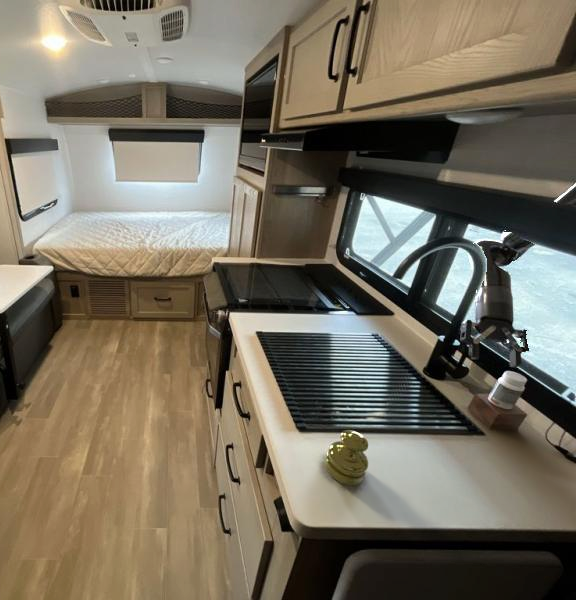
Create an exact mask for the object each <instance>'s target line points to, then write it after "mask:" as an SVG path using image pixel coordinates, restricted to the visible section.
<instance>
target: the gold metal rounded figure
mask: <svg viewBox="0 0 576 600" xmlns="http://www.w3.org/2000/svg"><path fill="white" fill-rule="evenodd" d="M368 449H369V441H368V440H367V438H366V437H365V436H364V435H362V434H361V433H360V432H358V431H355V430H350V429H346V430H343V431H342V432H341V434H340V441H334V442H333V443H331V444H330V445H329V447H328V451H327V453H326V457H325V459H324V466H325V469H326V471H327V472H328V474H329V475H330V476H331V478H332V479H334V480H335V481H337V482H339V483H341V484H344V485H346V486H356V485H359V484H361V482H362V481H363V478H364V477H365V475H366V471H367V470H368V468H369V460H368V457H367V455H366V454H365V453H364V452H366V451H367V450H368Z"/></svg>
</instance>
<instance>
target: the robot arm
mask: <svg viewBox="0 0 576 600" xmlns="http://www.w3.org/2000/svg"><path fill="white" fill-rule="evenodd" d="M552 201H554V202H556V203H562V204H571V205H576V182H575V183H573V184H572V185H571V186H569V187H568V188H567V189H566V190H565V191H564V192H563V193H560V195H559V196H557V197H556V198H554V199H553V200H552ZM500 239H501V241H499V240H493V239H490V238H489V239H488V238H483V239H479V240H476V241H475V242H474V243H476V244H478V245H479V246H480V247H481V248H482V250H483V251H484V254H485V256H486V258H487V272H486V275H485V278H484V281H483V283H482V286H481V288H480V290H479V292H478V294H477V296H476V295H475V301H474V304H475V313H474V314H475V318H474V319H475V321H473V320H471V319H467V320H465V321H462V322H461V325H460V326H461V328H460V339H459V341H460V342H461V343H464V344H466V345H468V356H469V358H470V359H471V360H474V361H477V360H479V359H480V345H479V344H480V343H481V342H482V341H483V340H484V341H487V342H494V343H498V344H499V343H500V344H501V345H502V346H503V347H505V348H506V349H507V350H508V351H509V353H508V354H509V355H508V356H509V367H510V368H518V367H519V366H521V365H522V354H523V353H522V352H524V353H527V352H526V351H528V352H530V351H529V348H528V344H527V339H526V335H527V334H526V331H527V330H528V329H527V330H525V329H526V328H524V329H516V328H515V327H514V325H513V324H514V321H515V320H514V296H513V293H512V277H511V273H510V272H509V271H508V270H505V269H504V268H505V267H504V266H506V267H508V266H507V265H509V264H510V263H511V262H512V261H515V260H517V259H518V258H519V257H520V258H521V257H523V255H524V254H526V252H528V250H530V249H531V248H533V247H534V246H536V245H535V244H533V243H531V242H529V241H526V240H523V239H521V238H520V237H519V236H518V235H517V236H516V235H515V234H514V233H512V232H504V231H503V232H502V234H501V236H500ZM520 258H519V259H520ZM468 259H469V262H470V265H471V269H473V261H472V258H471V256H470V255H469V254H468ZM519 259H518V260H519ZM518 260H517V261H518ZM509 266H510V265H509ZM473 329H475V331H476V332H477V334H476V335H474V336H473V337H472V330H473ZM513 335H514V336H513ZM517 338H521V340H520V341H521V342H523V346H524V347H520V346H519V345H518V343H517ZM521 342H520V343H521Z"/></svg>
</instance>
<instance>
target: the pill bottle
mask: <svg viewBox="0 0 576 600" xmlns="http://www.w3.org/2000/svg"><path fill="white" fill-rule="evenodd" d="M527 382H528V379H527V378H526V377H525V376H524V375H522V374H521V373H518V372H515V371H511V370H506V371H504V372H503V374H502V375H501V377H498V379H497V380H496V383H495V384H494V387H493V388H492V389H491V391H490V393H489V394H490V395H489V396H488V399H489V401H490V402H491V403H493V404H494V405H496V406H498V407H501V408H504V409H512V408H513V407H514V405H517V403H518V401H519V399H520V397H521V396H522V394H523V392H524V391H525V389H526V387H525V385H526V383H527Z"/></svg>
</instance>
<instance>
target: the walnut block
mask: <svg viewBox="0 0 576 600" xmlns="http://www.w3.org/2000/svg"><path fill="white" fill-rule="evenodd" d="M489 395H490V393H475V394H474V395H473V396H472V399H471V400H470V402H469V404H468V405H467V409H468V410H469V411H470V412H471V413H472V414H473V415H474V416H475V417H476V418H477V419H479V421H481V423H482V424H483V425H484V426H486V427H487V428H488V429H489V430H516V431H517V430H518V429H519V428H520V426H522V423H523V422H524V421H525V420H526V418H527V417H528V413H526V412H525V411H524V410H522V409H521V408H520V407H519V406H518V405H517V404H515V405H514V407H513V408H512V409H504V408H501V407H498V406H496V405H494V404H493V403H491V402H490V401H489V399H488V396H489Z"/></svg>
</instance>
